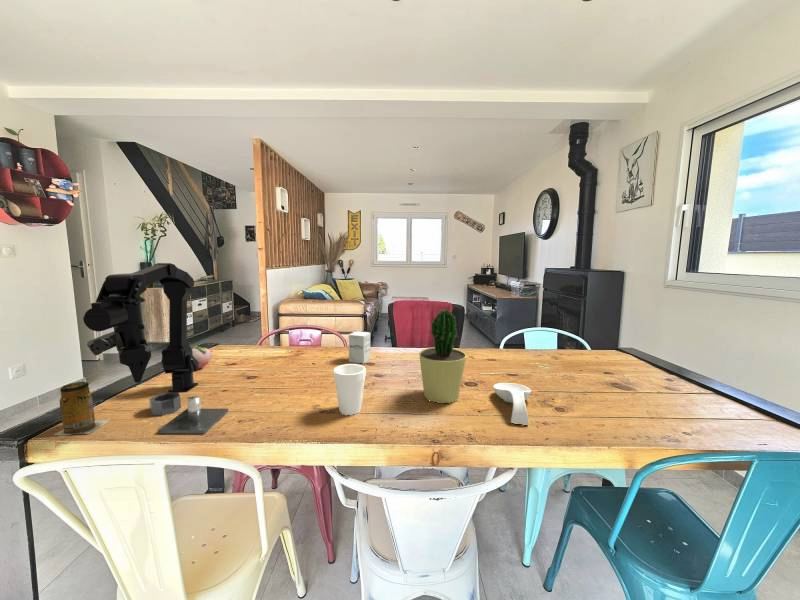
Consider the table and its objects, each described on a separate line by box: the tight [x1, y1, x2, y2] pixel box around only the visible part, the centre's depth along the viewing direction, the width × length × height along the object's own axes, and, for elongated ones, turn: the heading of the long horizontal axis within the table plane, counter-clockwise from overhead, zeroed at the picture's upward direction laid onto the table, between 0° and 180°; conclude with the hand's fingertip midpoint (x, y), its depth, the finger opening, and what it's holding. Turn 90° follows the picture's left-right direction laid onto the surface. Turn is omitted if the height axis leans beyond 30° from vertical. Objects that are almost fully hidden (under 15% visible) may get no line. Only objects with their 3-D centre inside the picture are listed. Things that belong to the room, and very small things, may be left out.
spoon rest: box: [492, 382, 532, 426], centre depth 101 cm, size 24×12×7 cm, turn 169°
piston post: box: [157, 395, 229, 435], centre depth 89 cm, size 12×12×7 cm
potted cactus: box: [418, 309, 467, 404], centre depth 106 cm, size 15×15×30 cm
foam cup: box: [333, 363, 367, 416], centre depth 96 cm, size 10×9×13 cm
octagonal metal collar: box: [148, 391, 182, 417], centre depth 96 cm, size 7×7×4 cm
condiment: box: [53, 381, 111, 436], centre depth 85 cm, size 7×8×12 cm
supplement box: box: [348, 331, 371, 365], centre depth 142 cm, size 7×7×13 cm
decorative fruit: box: [190, 344, 213, 370], centre depth 130 cm, size 9×8×10 cm
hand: (136, 376), depth 88 cm, fingers open, 9 cm apart
